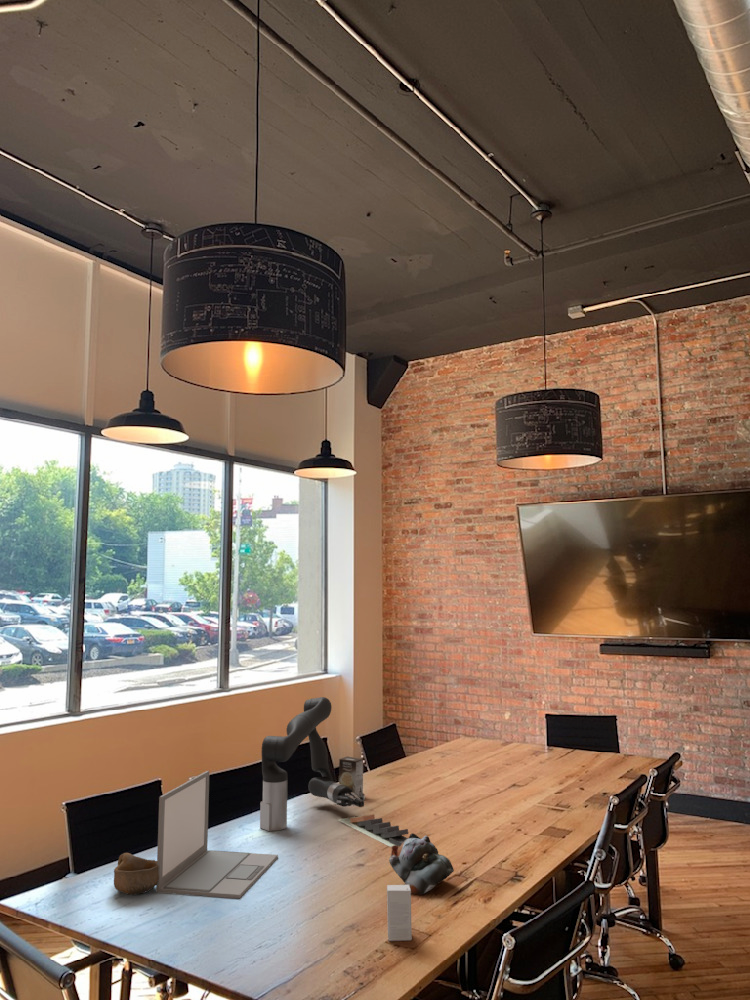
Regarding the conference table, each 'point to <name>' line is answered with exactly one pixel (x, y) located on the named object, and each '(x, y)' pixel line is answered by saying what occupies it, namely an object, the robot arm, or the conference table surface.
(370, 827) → the domino
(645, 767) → the conference table surface
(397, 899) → the skincare box
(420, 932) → the conference table surface
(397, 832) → the domino
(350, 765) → the coffee box
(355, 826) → the strip
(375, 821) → the domino
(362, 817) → the domino
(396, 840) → the domino
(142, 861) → the bowl
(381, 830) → the domino
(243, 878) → the laptop
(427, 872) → the lucky cat figurine
